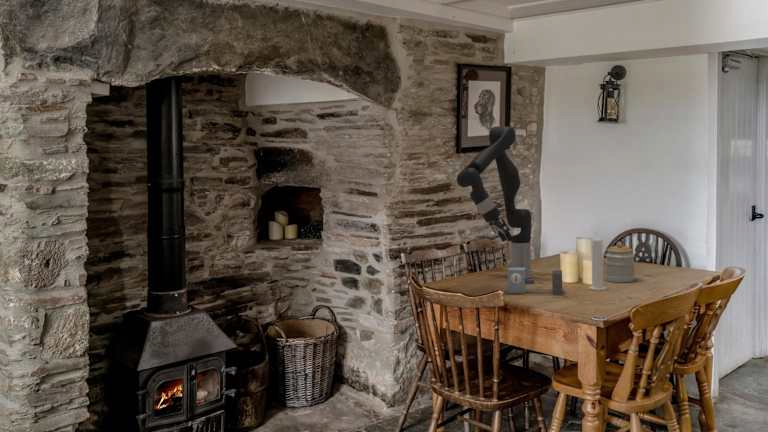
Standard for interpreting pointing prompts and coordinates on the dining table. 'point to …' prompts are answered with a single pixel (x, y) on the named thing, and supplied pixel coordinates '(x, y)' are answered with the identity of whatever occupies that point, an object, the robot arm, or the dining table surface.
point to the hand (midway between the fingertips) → (508, 240)
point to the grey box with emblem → (517, 280)
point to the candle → (597, 264)
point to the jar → (620, 264)
